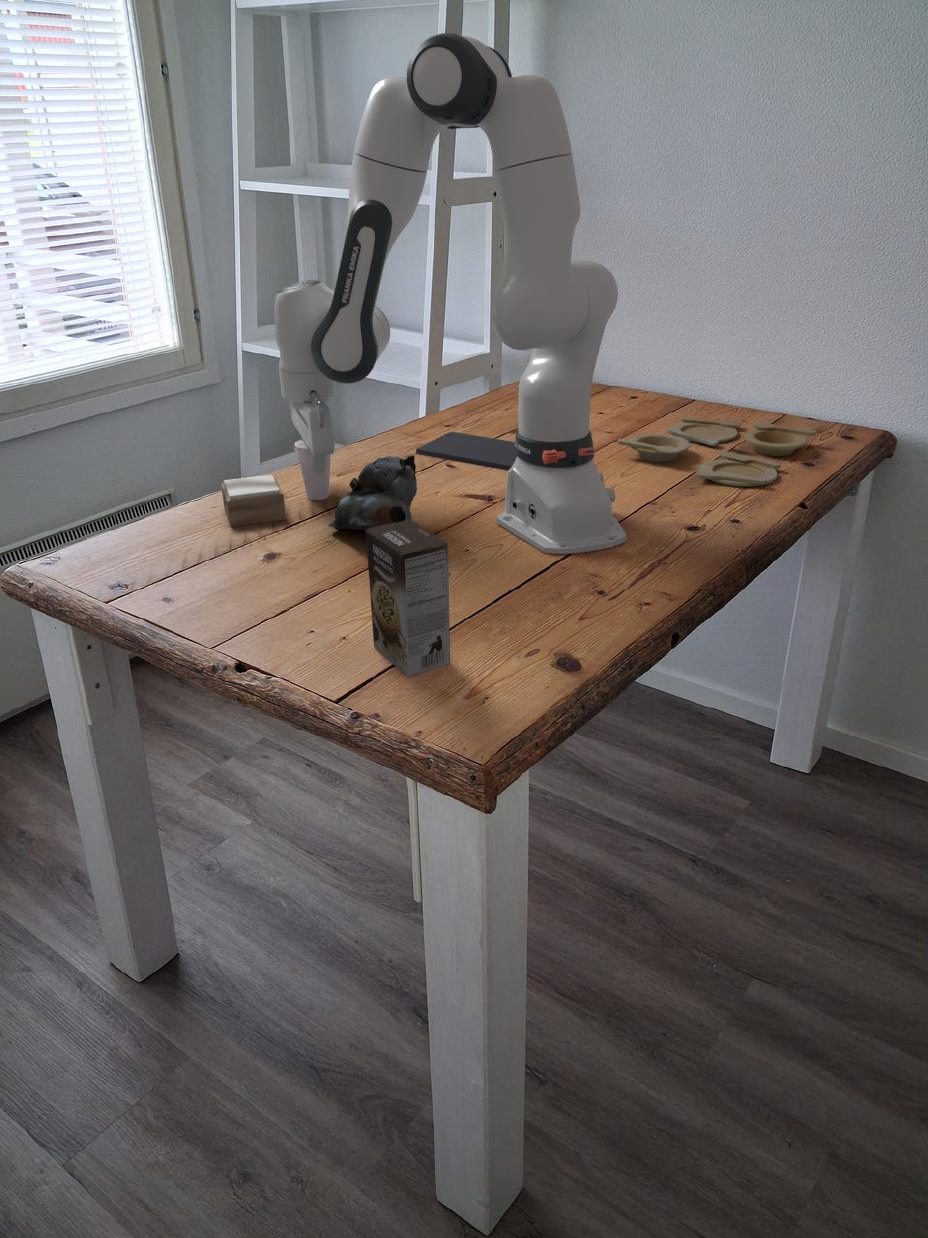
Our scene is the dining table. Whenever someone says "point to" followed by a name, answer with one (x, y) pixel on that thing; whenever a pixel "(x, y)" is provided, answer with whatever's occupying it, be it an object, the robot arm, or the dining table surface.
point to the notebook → (471, 450)
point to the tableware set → (724, 470)
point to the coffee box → (409, 596)
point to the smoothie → (313, 473)
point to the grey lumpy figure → (378, 495)
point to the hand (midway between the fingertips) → (315, 465)
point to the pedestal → (253, 500)
